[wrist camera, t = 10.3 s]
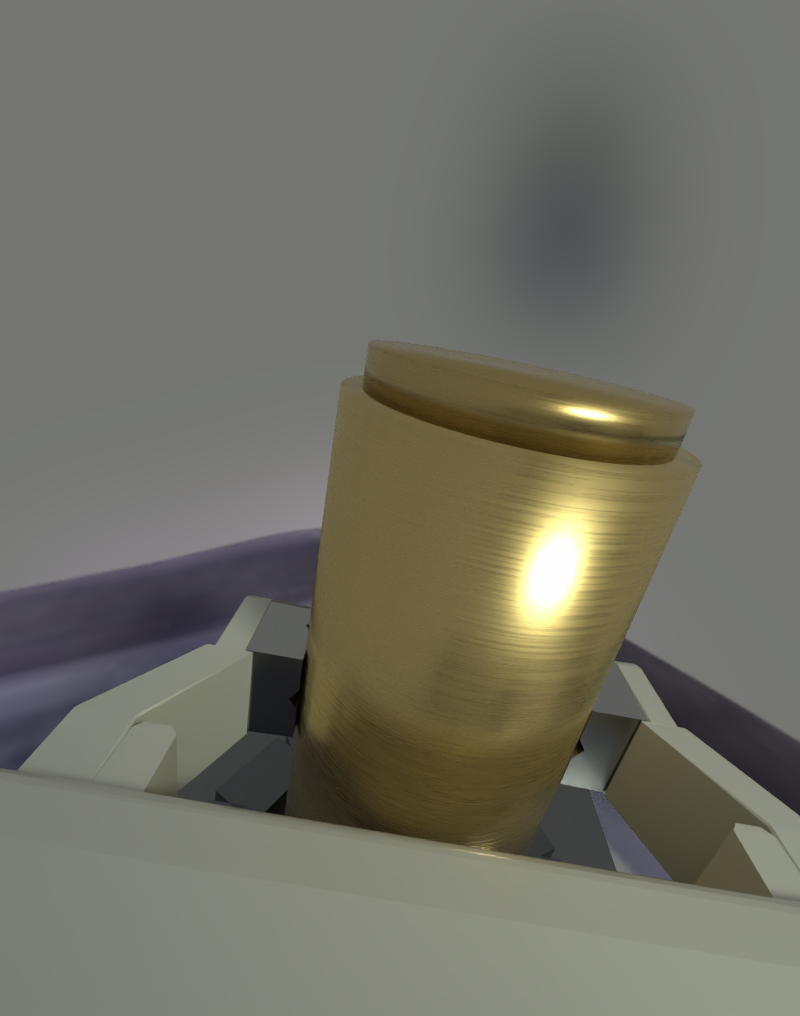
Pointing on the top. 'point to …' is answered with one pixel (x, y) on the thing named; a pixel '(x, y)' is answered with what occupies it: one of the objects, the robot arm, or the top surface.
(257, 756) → the square socket base
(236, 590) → the top surface
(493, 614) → the cylinder
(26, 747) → the top surface
